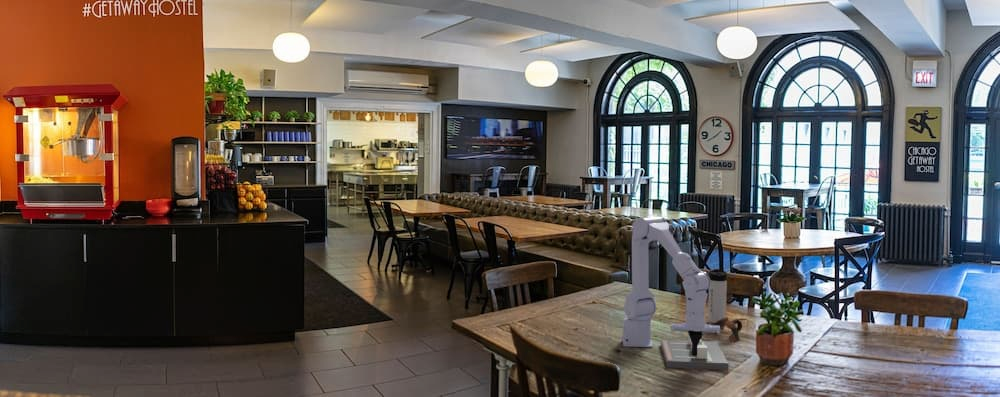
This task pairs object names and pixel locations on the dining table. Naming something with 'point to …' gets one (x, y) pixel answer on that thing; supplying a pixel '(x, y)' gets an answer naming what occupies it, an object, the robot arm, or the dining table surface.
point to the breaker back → (689, 340)
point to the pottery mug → (730, 327)
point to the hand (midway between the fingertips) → (694, 354)
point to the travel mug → (717, 295)
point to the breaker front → (701, 352)
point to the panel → (681, 355)
